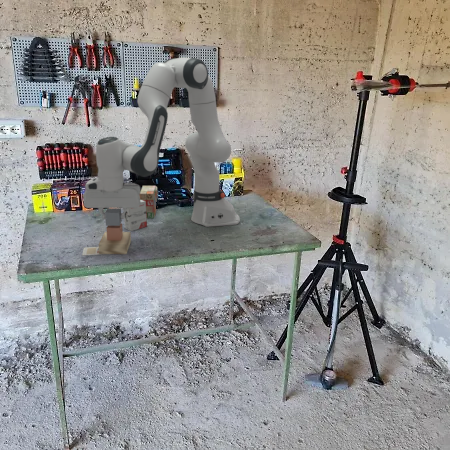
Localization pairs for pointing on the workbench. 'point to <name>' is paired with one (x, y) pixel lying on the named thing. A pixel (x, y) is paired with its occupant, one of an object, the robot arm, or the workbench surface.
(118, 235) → the terracotta brick
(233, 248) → the workbench surface
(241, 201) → the workbench surface
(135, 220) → the ink box
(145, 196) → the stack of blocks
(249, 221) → the workbench surface
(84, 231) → the workbench surface
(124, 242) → the base brick
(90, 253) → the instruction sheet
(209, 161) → the robot arm
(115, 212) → the grey brick
